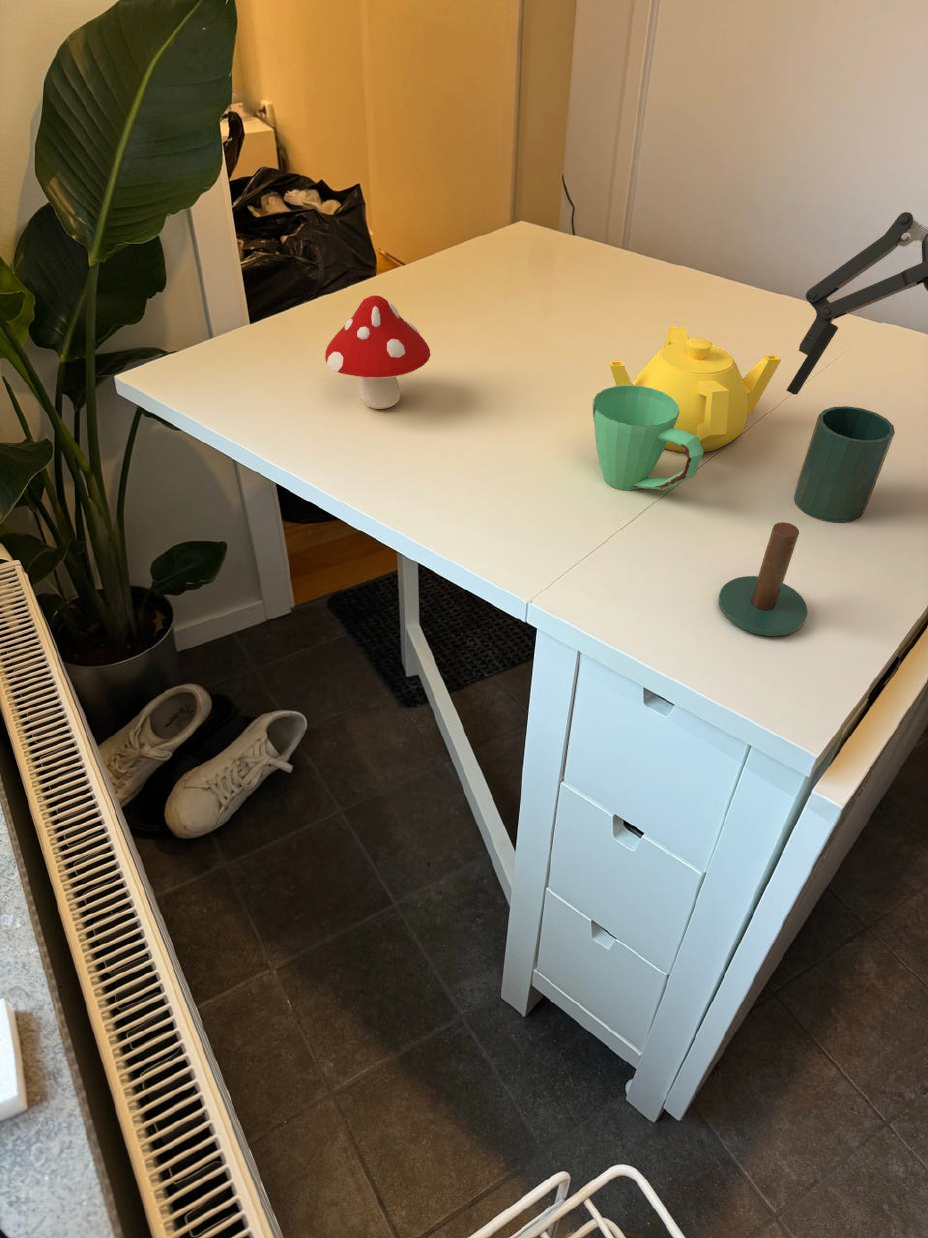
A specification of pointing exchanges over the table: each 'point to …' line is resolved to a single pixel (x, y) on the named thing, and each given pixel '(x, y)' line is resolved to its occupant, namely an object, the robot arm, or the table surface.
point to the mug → (639, 437)
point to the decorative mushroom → (377, 351)
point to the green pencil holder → (843, 463)
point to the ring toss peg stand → (767, 591)
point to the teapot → (702, 387)
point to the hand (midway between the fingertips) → (859, 429)
